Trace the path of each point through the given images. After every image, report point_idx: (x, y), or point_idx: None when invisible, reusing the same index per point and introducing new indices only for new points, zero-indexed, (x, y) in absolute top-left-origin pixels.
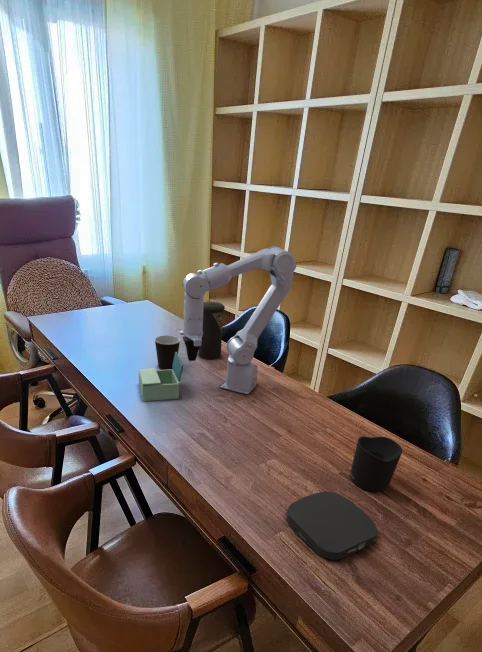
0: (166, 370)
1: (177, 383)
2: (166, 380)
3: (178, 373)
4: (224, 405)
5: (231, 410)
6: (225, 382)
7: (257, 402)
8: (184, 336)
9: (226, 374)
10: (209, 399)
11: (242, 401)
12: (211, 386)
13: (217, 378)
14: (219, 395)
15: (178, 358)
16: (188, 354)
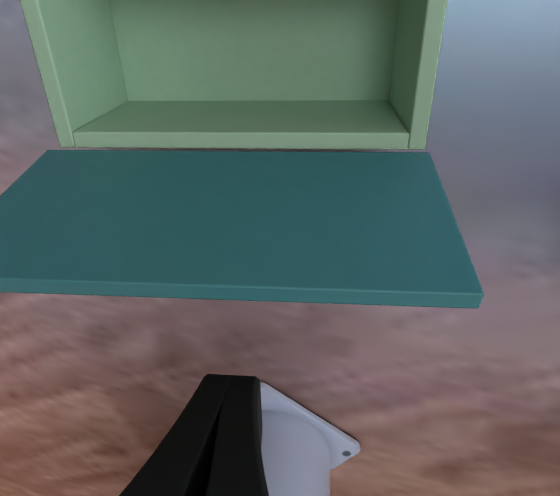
0: (415, 71)
1: (69, 134)
2: (397, 55)
3: (83, 184)
4: (60, 341)
5: (12, 355)
6: (305, 416)
7: (105, 459)
8: None
9: (282, 468)
10: None
11: (110, 417)
12: (290, 342)
13: (389, 394)
14: (173, 350)
15: (185, 284)
16: (158, 447)
